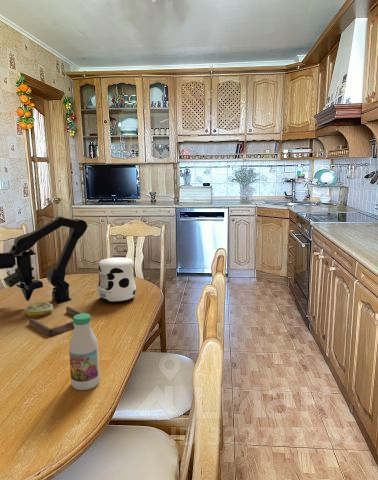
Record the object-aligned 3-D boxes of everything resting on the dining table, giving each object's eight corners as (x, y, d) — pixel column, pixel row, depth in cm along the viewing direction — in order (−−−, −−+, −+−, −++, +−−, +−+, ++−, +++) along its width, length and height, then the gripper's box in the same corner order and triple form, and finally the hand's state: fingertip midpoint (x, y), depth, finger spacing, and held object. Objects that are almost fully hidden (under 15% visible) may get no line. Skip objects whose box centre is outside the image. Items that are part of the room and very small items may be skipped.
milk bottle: (74, 376, 105) (70, 311, 102) (101, 374, 106) (98, 310, 102) (68, 392, 98) (63, 322, 94) (97, 390, 98) (93, 321, 95)
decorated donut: (58, 313, 153) (57, 304, 152) (32, 320, 145) (32, 312, 144) (46, 307, 160) (45, 298, 159) (21, 314, 152) (20, 305, 151)
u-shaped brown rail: (68, 311, 154) (68, 306, 153) (90, 321, 143) (90, 315, 143) (29, 324, 141) (28, 318, 140) (50, 336, 131) (49, 330, 130)
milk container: (138, 292, 178) (136, 256, 175) (133, 305, 161) (132, 265, 158) (102, 293, 177) (100, 257, 174) (94, 305, 160) (92, 266, 157)
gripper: (-5, 266, 156) (-1, 300, 159) (15, 273, 144) (18, 311, 147) (21, 261, 164) (24, 294, 167) (42, 268, 152) (45, 303, 155)
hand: (27, 300), depth 159 cm, fingers closed
